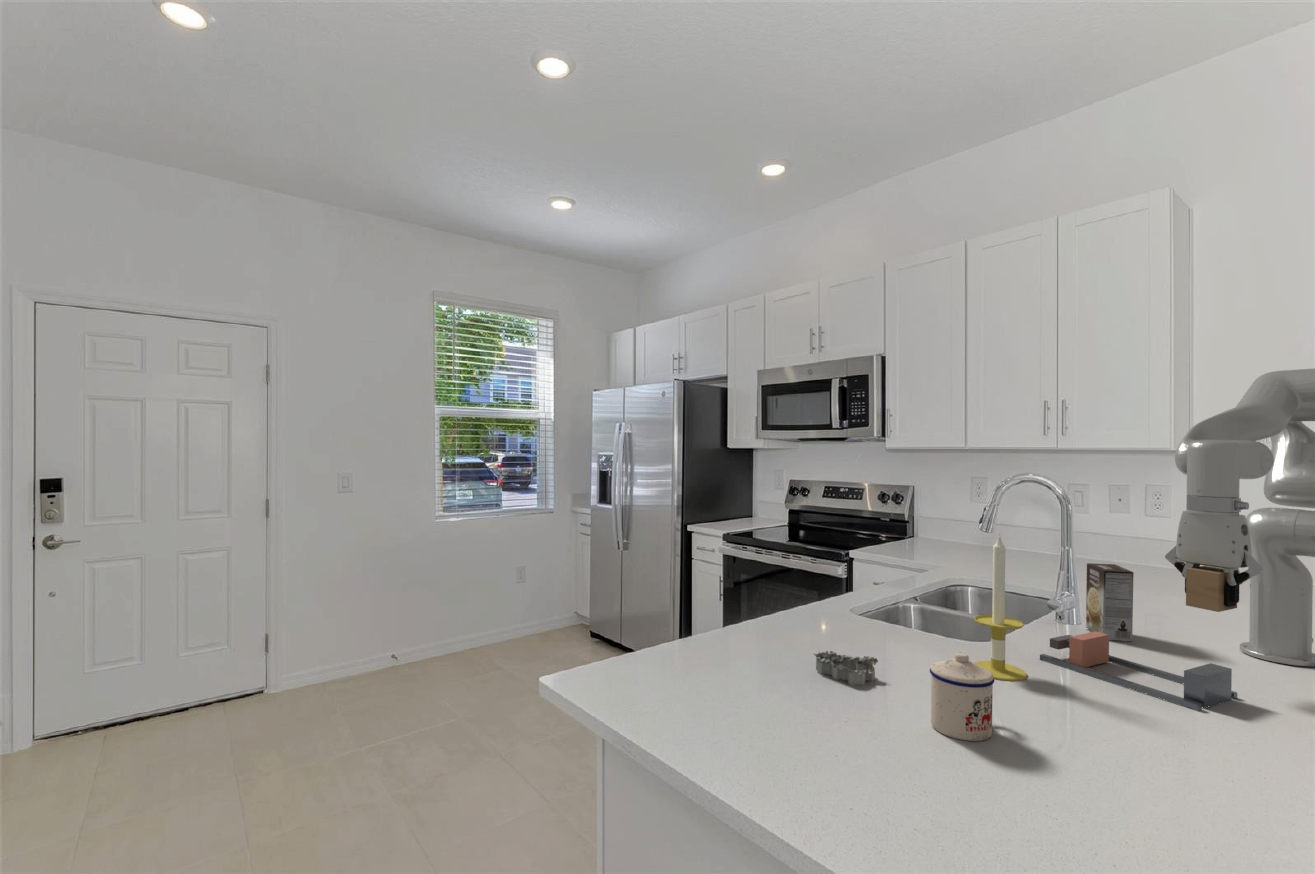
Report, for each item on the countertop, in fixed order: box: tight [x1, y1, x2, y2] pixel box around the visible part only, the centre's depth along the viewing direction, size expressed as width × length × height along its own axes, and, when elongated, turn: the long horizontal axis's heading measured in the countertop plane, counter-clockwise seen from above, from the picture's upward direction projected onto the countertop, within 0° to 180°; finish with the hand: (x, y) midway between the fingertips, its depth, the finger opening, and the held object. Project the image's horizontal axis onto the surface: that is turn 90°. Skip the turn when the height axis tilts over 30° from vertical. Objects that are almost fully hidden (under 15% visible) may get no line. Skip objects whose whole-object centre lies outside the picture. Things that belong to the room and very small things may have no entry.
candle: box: [973, 533, 1028, 682], centre depth 124 cm, size 10×10×27 cm
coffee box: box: [1085, 563, 1135, 642], centre depth 148 cm, size 9×6×16 cm
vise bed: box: [1039, 653, 1238, 712], centre depth 122 cm, size 13×27×6 cm, turn 26°
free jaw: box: [1049, 631, 1110, 668], centre depth 131 cm, size 9×7×6 cm
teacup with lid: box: [929, 652, 995, 742], centre depth 99 cm, size 12×9×12 cm
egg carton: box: [812, 650, 879, 686], centre depth 121 cm, size 11×8×4 cm
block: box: [1185, 565, 1238, 613], centre depth 119 cm, size 7×5×7 cm
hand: (1211, 601), depth 119 cm, fingers closed on block, 5 cm apart
